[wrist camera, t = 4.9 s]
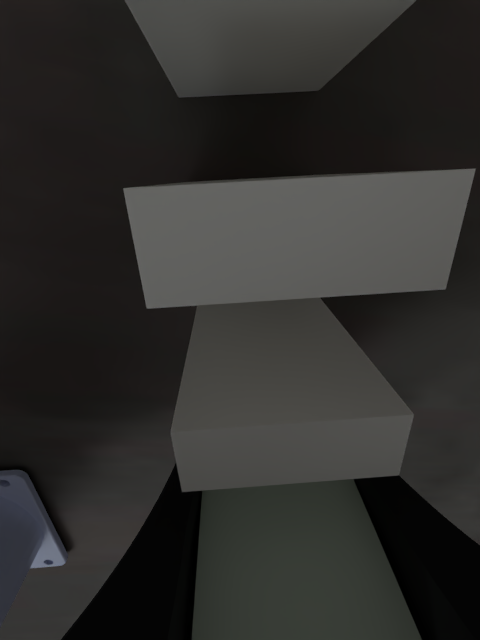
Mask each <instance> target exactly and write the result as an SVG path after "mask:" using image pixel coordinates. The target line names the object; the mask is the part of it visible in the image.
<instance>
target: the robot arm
mask: <svg viewBox="0 0 480 640" xmlns="http://www.w3.org/2000/svg"><path fill="white" fill-rule="evenodd" d="M354 482H355V484H356V486H357V489H358V491H359V493H360V496H361V498H362V501H363V503H364V505H365V508H366V510H367V512H368V515H369V517H370V519H371V522H372V524H373V526H374V529H375V531H376V533H377V536H378V538H379V540H380V543H381V545H382V547H383V550H384V552H385V554H386V557H387V559H388V561H389V564H390V566H391V568H392V571H393V573H394V575H395V578H396V580H397V583H398V585H399V587H400V590H401V592H402V594H403V597H404V599H405V601H406V604H407V606H408V608H409V611H410V613H411V615H412V618H413V620H414V622H415V625H416V627H417V629H418V632H419V634H420V636H421V639H422V640H480V545H478V544H477V543H476V542H475V541H473V540H472V539H471V538H469V537H468V536H467V535H466V534H464V533H463V532H462V531H461V530H460V529H458V528H457V527H456V526H455V525H453V524H452V523H451V522H450V521H449V520H447V519H446V518H445V517H444V516H443V515H442V514H440V513H439V512H438V511H437V510H436V509H435V508H433V507H432V506H431V505H430V504H429V503H428V502H427V501H426V500H425V499H423V498H422V497H421V496H420V495H419V494H418V493H417V492H416V491H415V490H414V489H413V488H412V487H410V486H409V485H408V484H407V483H406V482H405V481H404V480H403V479H402V478H401V477H400V476H399V475H398V476H385V477H372V478H359V479H354ZM201 500H202V491H190V492H182V490H181V485H180V479H179V474H178V469H177V464H175V466H174V468H173V471H172V473H171V475H170V477H169V479H168V481H167V483H166V485H165V487H164V489H163V491H162V493H161V494H160V496H159V498H158V500H157V502H156V504H155V505H154V507H153V509H152V511H151V512H150V514H149V516H148V518H147V519H146V521H145V523H144V525H143V526H142V528H141V529H140V531H139V533H138V534H137V536H136V538H135V539H134V541H133V542H132V544H131V545H130V547H129V548H128V550H127V551H126V553H125V555H124V556H123V558H122V559H121V561H120V562H119V563H118V565H117V566H116V568H115V569H114V571H113V572H112V573H111V575H110V576H109V578H108V579H107V580H106V582H105V583H104V585H103V586H102V588H101V589H100V590H99V592H98V593H97V594H96V596H95V597H94V598H93V600H92V601H91V602H90V604H89V605H88V606H87V608H86V609H85V610H84V611H83V613H82V614H81V615H80V616H79V618H78V619H77V620H76V621H75V623H74V624H73V625H72V627H71V628H70V629H69V630H68V632H67V633H66V634H65V635H64V637H63V638H62V639H61V640H192V627H193V613H194V599H195V585H196V571H197V557H198V543H199V529H200V514H201ZM67 558H68V554H67V552H66V550H65V548H64V546H63V544H62V542H61V540H60V538H59V536H58V534H57V532H56V530H55V528H54V526H53V524H52V522H51V520H50V518H49V516H48V514H47V512H46V510H45V508H44V506H43V504H42V502H41V500H40V498H39V496H38V494H37V492H36V490H35V488H34V486H33V484H32V482H31V480H30V478H29V476H28V474H27V473H26V472H24V471H22V470H5V471H0V627H1V625H2V623H3V621H4V619H5V617H6V615H7V613H8V611H9V609H10V607H11V605H12V603H13V601H14V599H15V597H16V595H17V593H18V591H19V589H20V587H21V585H22V583H23V581H24V579H25V577H26V575H27V573H28V571H29V569H30V568H39V567H51V566H61V565H63V564H65V563H66V561H67Z"/></svg>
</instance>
